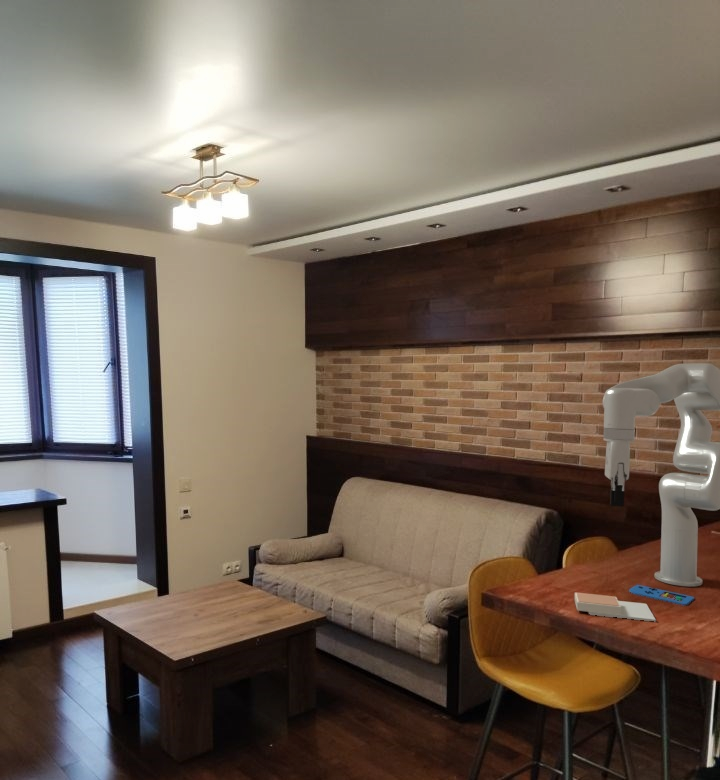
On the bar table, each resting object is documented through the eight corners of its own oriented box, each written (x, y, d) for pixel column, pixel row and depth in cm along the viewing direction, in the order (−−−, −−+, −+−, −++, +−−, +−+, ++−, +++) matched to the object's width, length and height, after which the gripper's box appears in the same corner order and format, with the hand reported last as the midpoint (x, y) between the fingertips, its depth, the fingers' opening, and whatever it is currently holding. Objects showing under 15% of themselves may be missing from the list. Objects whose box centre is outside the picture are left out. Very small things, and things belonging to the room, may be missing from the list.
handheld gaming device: (636, 583, 179) (694, 596, 169) (636, 587, 179) (694, 600, 169) (626, 589, 173) (686, 603, 163) (626, 593, 173) (686, 607, 163)
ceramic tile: (574, 591, 163) (577, 601, 155) (616, 596, 160) (620, 606, 152) (574, 600, 163) (577, 610, 155) (615, 604, 160) (620, 615, 152)
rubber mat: (584, 599, 165) (584, 597, 165) (646, 606, 162) (646, 603, 162) (589, 614, 154) (589, 612, 154) (655, 622, 150) (655, 619, 150)
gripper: (600, 433, 173) (598, 500, 173) (607, 436, 158) (605, 509, 158) (629, 434, 171) (627, 502, 171) (639, 438, 157) (637, 511, 156)
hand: (617, 505), depth 165 cm, fingers closed
